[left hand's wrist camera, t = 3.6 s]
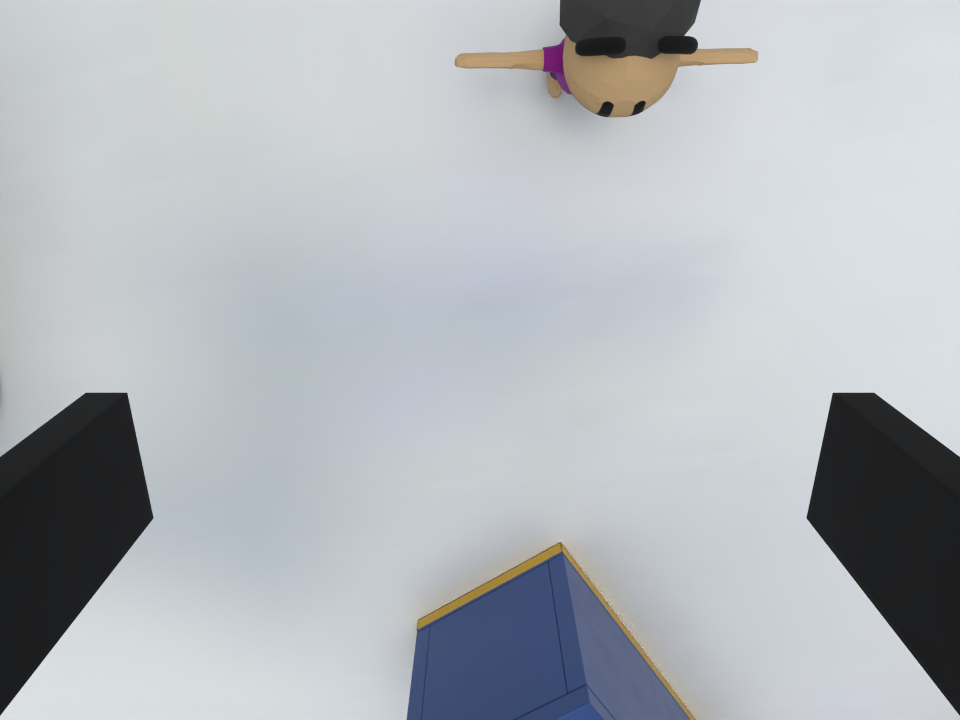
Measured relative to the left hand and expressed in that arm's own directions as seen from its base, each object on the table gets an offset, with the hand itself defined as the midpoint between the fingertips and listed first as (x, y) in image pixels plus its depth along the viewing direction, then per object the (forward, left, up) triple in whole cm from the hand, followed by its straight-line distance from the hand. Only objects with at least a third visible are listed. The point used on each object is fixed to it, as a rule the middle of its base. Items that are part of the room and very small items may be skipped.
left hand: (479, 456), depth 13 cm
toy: (+9, +4, -24) cm, 26 cm away
